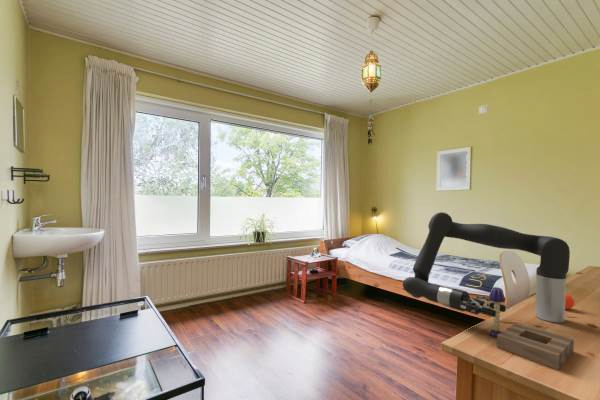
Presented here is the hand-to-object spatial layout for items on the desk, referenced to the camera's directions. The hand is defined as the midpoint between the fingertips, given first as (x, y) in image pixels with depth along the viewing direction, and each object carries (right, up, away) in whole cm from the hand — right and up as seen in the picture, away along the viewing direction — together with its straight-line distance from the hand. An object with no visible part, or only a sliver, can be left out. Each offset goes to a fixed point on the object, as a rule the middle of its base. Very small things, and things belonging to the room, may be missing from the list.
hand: (500, 311), depth 101 cm
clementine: (+50, -11, +32) cm, 61 cm away
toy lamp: (-1, -9, +1) cm, 9 cm away
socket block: (+6, -9, -8) cm, 13 cm away
